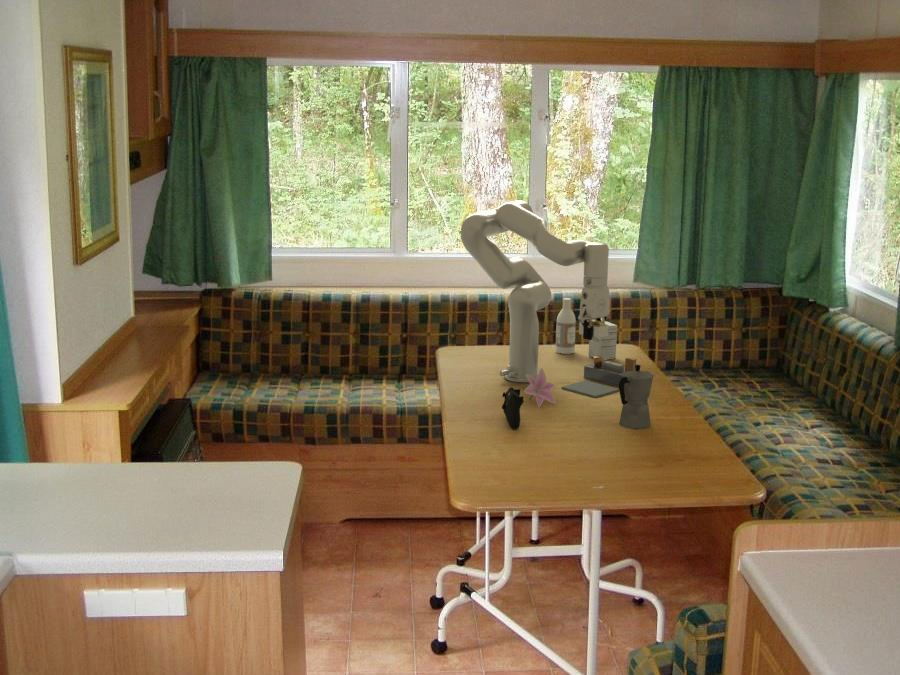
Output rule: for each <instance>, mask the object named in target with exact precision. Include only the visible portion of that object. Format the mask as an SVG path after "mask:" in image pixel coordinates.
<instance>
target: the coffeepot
mask: <svg viewBox="0 0 900 675" xmlns="http://www.w3.org/2000/svg"><path fill="white" fill-rule="evenodd" d="M641 367H642V365H640V364H636V365H635V369H636V371H627V372H623V373H622V375H621V377H622V378H621V380H620V382H619V387H618V389H619V395H620V396H619V397H620V400H621V404H622V408H621V413H620V417H619V421H618V424H619V425H620V426H622V427H623V428H627V429H631V430H643V429H647V428H650V426H651V417H650V407H649V403H648V402H649V401H648V400H649V398H650V395H651V389H652V385H653V380H654V374H653V373H652V371H647V370H641Z"/></svg>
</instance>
